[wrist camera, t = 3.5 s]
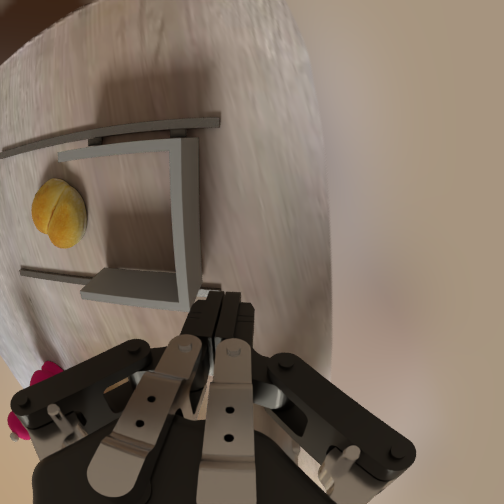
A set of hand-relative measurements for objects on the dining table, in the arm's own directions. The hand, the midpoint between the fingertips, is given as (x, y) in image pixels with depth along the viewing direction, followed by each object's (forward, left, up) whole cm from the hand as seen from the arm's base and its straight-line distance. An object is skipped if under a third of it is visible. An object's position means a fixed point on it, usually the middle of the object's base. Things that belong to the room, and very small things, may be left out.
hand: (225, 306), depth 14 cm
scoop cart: (+12, 0, -17) cm, 21 cm away
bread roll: (+24, 0, -17) cm, 30 cm away
